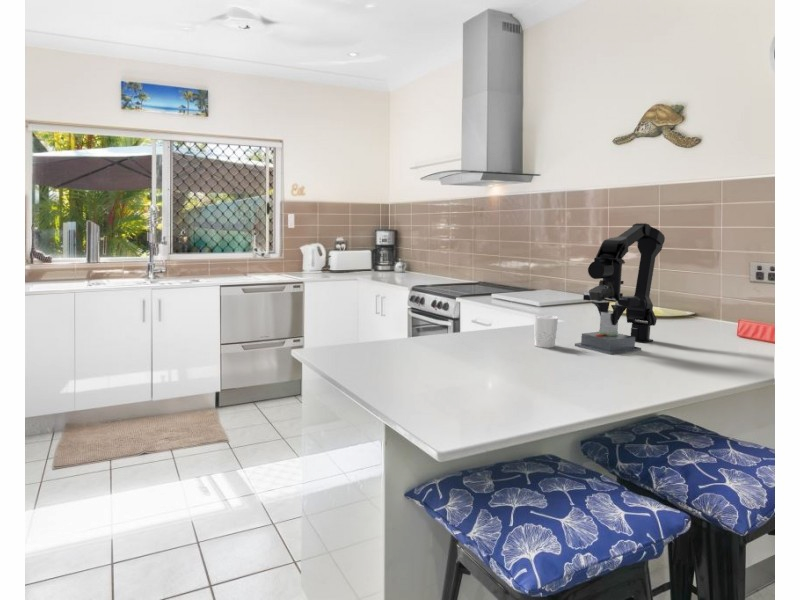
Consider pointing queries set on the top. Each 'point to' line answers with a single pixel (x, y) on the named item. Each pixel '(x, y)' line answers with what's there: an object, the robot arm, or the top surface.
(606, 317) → the column
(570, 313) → the top surface
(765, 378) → the top surface
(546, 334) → the white cup
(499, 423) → the top surface
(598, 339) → the housing
